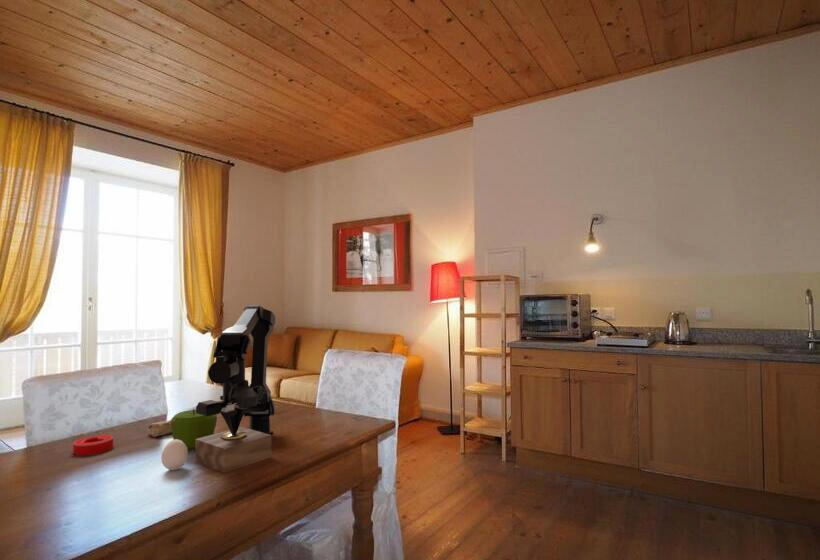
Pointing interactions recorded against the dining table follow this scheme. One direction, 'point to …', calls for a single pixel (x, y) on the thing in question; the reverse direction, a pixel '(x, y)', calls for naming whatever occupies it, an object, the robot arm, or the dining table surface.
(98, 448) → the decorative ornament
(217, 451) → the socket block
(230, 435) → the peg
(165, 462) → the egg
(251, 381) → the robot arm
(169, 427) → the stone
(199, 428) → the apple
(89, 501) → the dining table surface
